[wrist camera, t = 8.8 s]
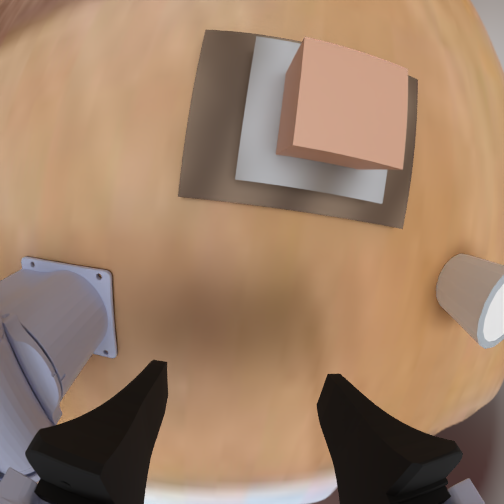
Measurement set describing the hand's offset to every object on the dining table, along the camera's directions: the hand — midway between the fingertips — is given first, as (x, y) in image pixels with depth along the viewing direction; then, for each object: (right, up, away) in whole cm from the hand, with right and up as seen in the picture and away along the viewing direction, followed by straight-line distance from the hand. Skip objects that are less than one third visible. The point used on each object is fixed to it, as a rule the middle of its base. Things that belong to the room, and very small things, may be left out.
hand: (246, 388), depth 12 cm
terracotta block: (+4, +13, +3) cm, 14 cm away
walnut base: (+4, +15, +7) cm, 17 cm away
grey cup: (+20, +3, +11) cm, 23 cm away
